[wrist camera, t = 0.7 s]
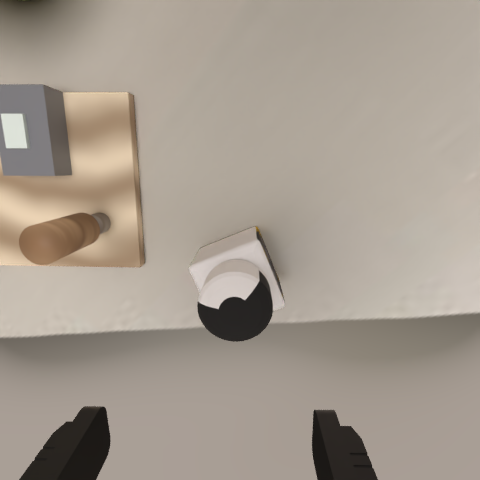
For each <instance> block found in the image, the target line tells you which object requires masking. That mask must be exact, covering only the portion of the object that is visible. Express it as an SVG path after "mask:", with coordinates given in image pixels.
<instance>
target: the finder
mask: <svg viewBox="0 0 480 480" xmlns="http://www.w3.org/2000/svg"><path fill="white" fill-rule="evenodd" d="M0 158H1V164H2V170H3V176H65V175H72V168H71V159H70V151H69V142H68V133H67V125H66V116H65V107H64V99H63V92H61V91H58V90H56V89H53V88H51V87H48V86H46V85H0Z"/></svg>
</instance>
